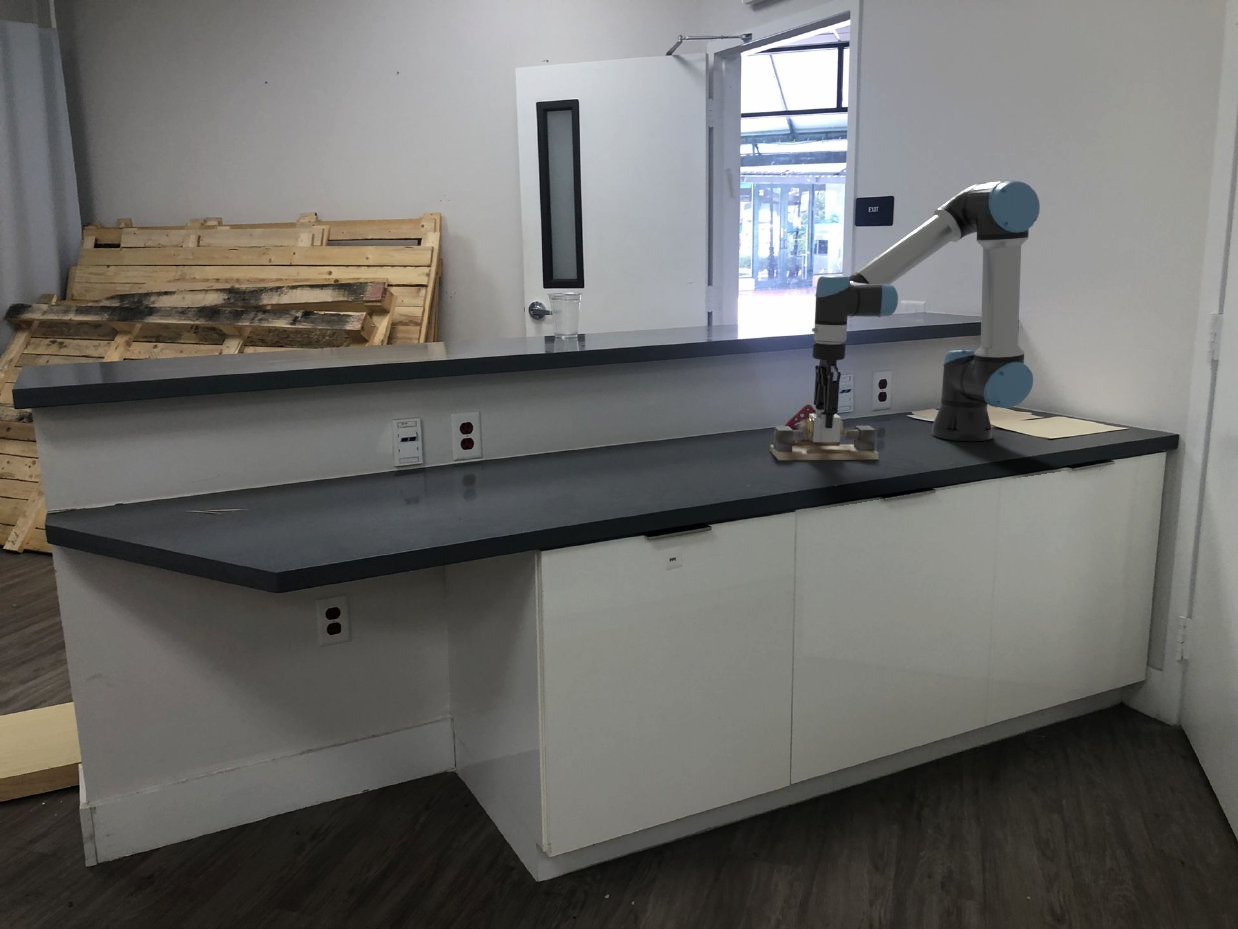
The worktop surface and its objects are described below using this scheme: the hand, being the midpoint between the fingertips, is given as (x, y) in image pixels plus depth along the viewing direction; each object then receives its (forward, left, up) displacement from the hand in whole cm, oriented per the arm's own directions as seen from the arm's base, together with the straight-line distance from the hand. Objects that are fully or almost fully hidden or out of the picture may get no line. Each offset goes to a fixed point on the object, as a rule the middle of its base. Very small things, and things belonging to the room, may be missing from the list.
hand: (823, 438), depth 234 cm
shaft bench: (0, 0, -4) cm, 4 cm away
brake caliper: (+2, -9, -5) cm, 10 cm away
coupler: (0, 0, 0) cm, 0 cm away
